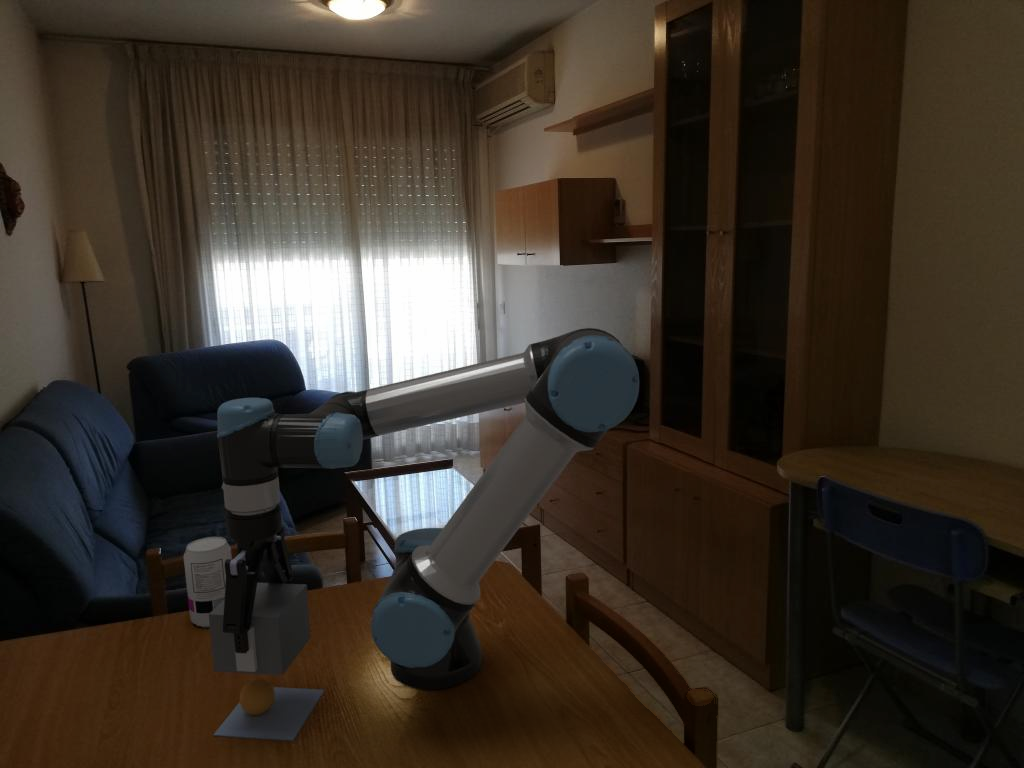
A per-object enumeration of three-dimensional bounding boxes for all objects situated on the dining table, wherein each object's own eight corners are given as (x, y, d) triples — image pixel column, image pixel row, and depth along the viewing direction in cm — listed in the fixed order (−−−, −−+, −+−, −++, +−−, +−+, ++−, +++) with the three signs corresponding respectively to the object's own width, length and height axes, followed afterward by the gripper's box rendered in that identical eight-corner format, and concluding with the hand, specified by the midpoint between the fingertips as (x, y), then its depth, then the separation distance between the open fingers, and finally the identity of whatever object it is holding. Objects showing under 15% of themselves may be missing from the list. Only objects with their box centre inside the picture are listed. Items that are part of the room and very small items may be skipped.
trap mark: (324, 690, 116) (324, 689, 116) (293, 740, 104) (293, 739, 104) (252, 687, 117) (252, 686, 117) (213, 736, 105) (213, 734, 105)
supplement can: (181, 624, 138) (172, 548, 135) (215, 604, 145) (208, 533, 142) (212, 632, 134) (204, 555, 132) (246, 612, 142) (239, 539, 139)
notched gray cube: (310, 637, 113) (306, 584, 112) (282, 675, 103) (277, 617, 102) (247, 634, 114) (243, 582, 113) (214, 671, 104) (208, 614, 103)
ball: (261, 666, 112) (243, 687, 113) (246, 685, 107) (227, 706, 108) (286, 687, 112) (267, 707, 113) (272, 707, 107) (252, 728, 108)
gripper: (263, 481, 116) (274, 610, 120) (183, 536, 94) (199, 693, 98) (309, 482, 115) (318, 613, 119) (239, 538, 93) (253, 696, 97)
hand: (264, 649), depth 109 cm, fingers closed on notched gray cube, 10 cm apart
